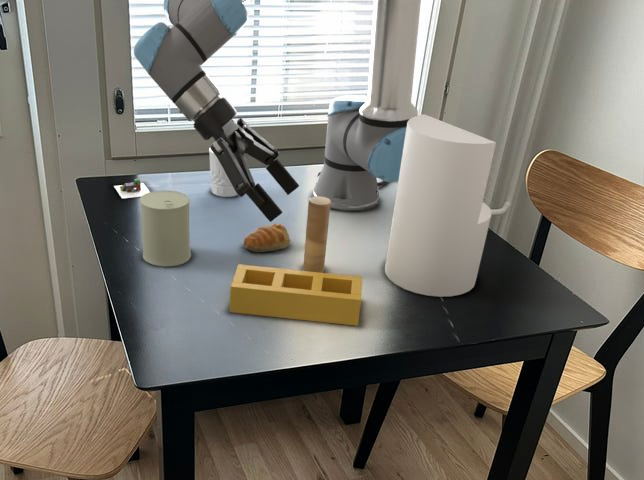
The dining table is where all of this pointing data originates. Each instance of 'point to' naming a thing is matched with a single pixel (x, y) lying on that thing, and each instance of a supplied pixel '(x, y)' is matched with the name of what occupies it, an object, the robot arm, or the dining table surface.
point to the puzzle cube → (132, 189)
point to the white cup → (219, 178)
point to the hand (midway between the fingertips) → (285, 203)
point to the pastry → (267, 239)
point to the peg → (316, 234)
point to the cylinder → (439, 209)
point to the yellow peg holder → (296, 294)
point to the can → (165, 228)
